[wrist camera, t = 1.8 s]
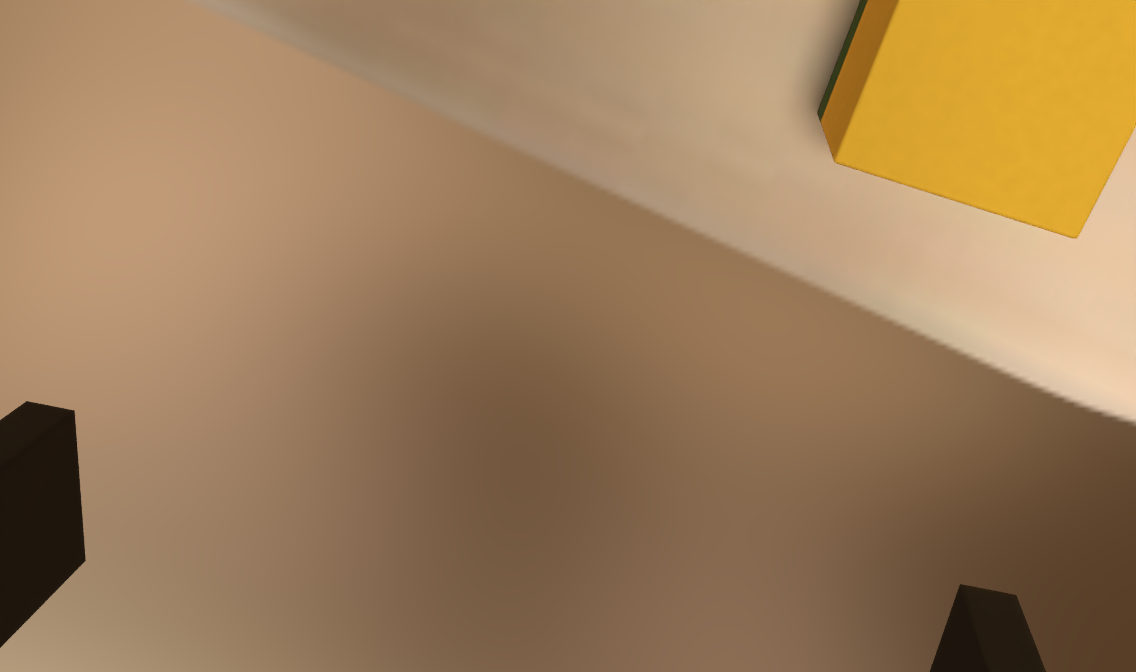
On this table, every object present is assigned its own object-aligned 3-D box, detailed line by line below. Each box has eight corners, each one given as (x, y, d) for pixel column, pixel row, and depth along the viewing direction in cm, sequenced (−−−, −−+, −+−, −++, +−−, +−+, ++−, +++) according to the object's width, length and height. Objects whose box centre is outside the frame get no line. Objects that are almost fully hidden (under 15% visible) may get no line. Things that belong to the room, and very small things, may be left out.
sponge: (1016, 177, 28) (1077, 240, 23) (816, 114, 28) (832, 162, 23) (1171, -145, 24) (1283, -155, 19) (943, -215, 24) (995, -243, 19)
